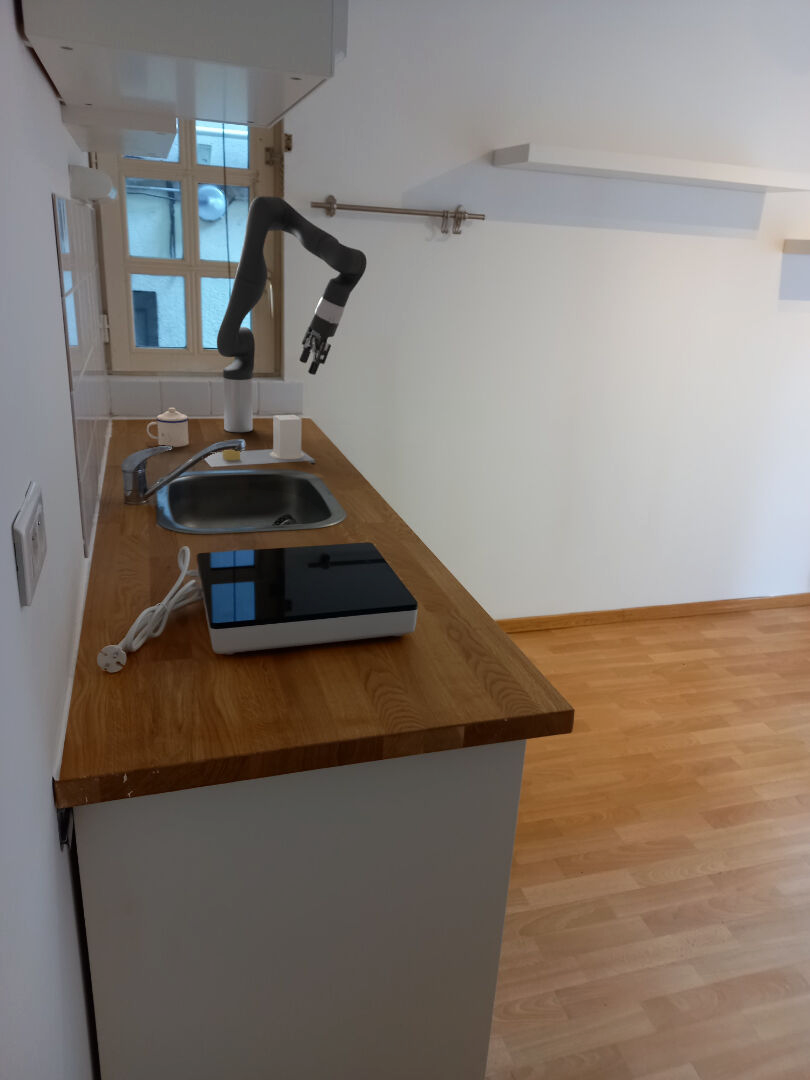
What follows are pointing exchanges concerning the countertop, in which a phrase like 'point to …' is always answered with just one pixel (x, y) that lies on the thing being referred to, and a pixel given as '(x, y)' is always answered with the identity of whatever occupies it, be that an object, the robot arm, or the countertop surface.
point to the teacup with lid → (171, 428)
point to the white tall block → (287, 436)
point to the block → (231, 455)
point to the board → (254, 458)
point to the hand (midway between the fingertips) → (307, 367)
